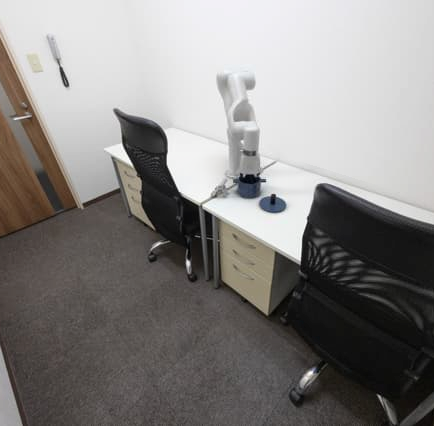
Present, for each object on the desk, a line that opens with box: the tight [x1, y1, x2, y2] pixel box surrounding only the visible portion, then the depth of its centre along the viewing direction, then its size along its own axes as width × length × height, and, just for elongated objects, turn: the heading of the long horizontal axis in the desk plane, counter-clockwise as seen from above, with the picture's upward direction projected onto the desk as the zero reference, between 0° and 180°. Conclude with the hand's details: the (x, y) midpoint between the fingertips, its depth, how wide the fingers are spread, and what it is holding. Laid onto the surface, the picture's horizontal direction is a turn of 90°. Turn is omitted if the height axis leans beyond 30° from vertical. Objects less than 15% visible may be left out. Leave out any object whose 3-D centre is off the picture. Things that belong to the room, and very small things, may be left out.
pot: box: [232, 174, 267, 199], centre depth 130 cm, size 13×18×8 cm
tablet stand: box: [210, 177, 229, 198], centre depth 129 cm, size 9×8×8 cm
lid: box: [258, 193, 287, 213], centre depth 120 cm, size 14×14×6 cm
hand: (249, 183), depth 129 cm, fingers open, 4 cm apart
